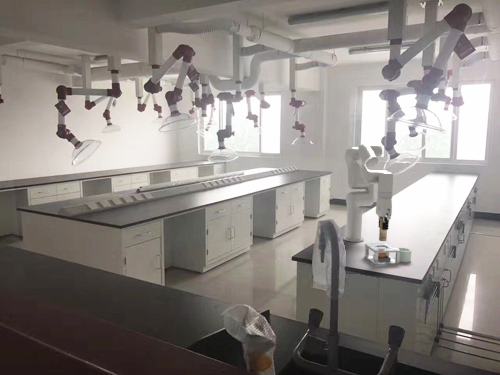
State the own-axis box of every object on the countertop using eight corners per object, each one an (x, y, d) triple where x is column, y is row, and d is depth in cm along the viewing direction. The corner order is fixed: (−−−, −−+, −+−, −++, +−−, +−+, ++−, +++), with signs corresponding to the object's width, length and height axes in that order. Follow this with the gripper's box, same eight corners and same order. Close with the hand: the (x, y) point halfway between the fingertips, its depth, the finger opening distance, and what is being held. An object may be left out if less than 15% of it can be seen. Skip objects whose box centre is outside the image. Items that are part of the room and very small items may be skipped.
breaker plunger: (375, 255, 221) (376, 250, 220) (383, 255, 221) (384, 250, 221) (379, 258, 216) (379, 252, 216) (387, 257, 217) (387, 252, 216)
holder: (394, 258, 221) (394, 247, 220) (406, 257, 222) (406, 247, 221) (400, 262, 214) (400, 251, 213) (412, 262, 215) (413, 251, 214)
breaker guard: (364, 256, 225) (364, 243, 224) (388, 255, 226) (388, 242, 225) (374, 264, 211) (375, 251, 210) (399, 263, 213) (400, 250, 212)
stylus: (377, 239, 219) (378, 216, 217) (384, 239, 219) (385, 216, 217) (380, 241, 215) (381, 217, 213) (387, 241, 215) (388, 217, 214)
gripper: (371, 192, 222) (370, 225, 224) (385, 197, 205) (383, 232, 208) (384, 192, 222) (383, 224, 225) (398, 197, 206) (397, 232, 208)
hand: (383, 228), depth 216 cm, fingers closed on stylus, 3 cm apart
